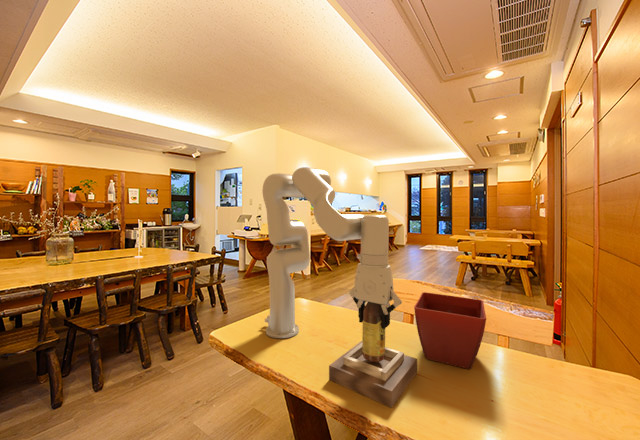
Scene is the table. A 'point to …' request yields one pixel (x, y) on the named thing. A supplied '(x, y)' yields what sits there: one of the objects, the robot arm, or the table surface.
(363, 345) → the sauce bottle
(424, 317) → the plant pot
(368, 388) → the condiment stand
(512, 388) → the table surface
